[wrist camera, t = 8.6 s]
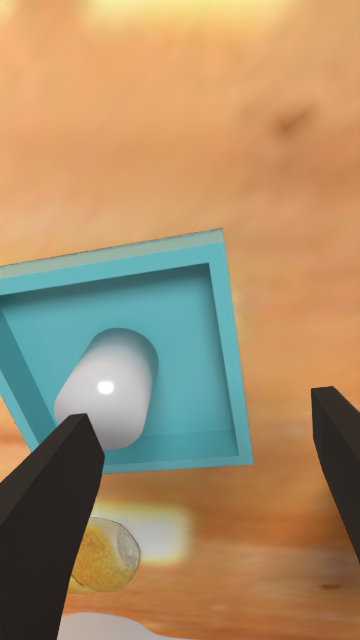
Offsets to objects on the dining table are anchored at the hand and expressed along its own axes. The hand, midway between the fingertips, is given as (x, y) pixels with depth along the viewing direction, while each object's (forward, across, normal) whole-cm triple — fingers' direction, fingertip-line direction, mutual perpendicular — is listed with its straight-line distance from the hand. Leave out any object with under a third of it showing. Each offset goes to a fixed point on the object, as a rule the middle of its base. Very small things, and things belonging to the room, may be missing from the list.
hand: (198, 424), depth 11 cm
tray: (+9, +6, +3) cm, 11 cm away
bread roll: (+10, +14, +22) cm, 28 cm away
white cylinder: (+9, +6, +3) cm, 11 cm away
